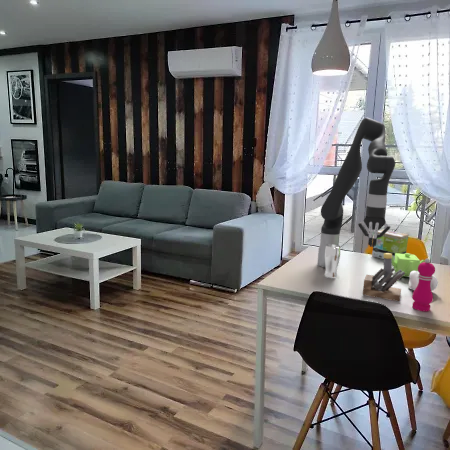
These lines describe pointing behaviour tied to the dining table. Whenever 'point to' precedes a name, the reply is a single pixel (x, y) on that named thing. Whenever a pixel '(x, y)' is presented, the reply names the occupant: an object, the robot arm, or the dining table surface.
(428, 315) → the dining table surface
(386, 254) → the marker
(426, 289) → the pepper mill
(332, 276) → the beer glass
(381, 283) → the knife block
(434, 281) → the white knot
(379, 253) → the tea box
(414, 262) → the kettle
